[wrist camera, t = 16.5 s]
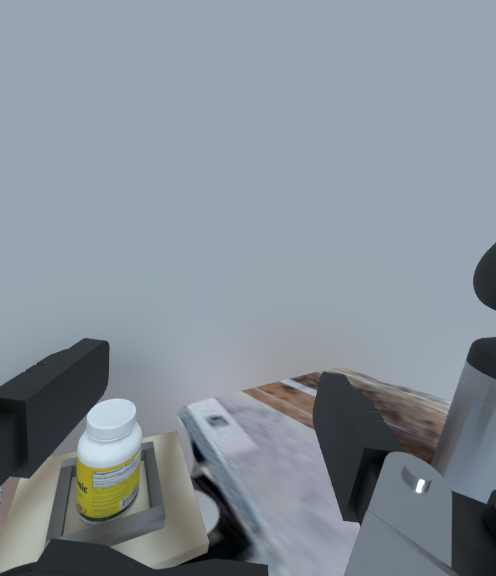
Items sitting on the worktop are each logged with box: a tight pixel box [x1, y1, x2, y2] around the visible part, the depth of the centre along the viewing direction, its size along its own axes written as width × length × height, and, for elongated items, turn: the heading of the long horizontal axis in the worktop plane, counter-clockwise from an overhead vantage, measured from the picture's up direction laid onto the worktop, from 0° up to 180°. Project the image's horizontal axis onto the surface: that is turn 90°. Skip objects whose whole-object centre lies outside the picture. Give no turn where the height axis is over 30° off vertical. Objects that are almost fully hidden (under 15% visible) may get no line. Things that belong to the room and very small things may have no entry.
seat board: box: [0, 431, 209, 573], centre depth 26 cm, size 16×14×3 cm
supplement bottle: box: [77, 399, 142, 525], centre depth 25 cm, size 5×5×10 cm
